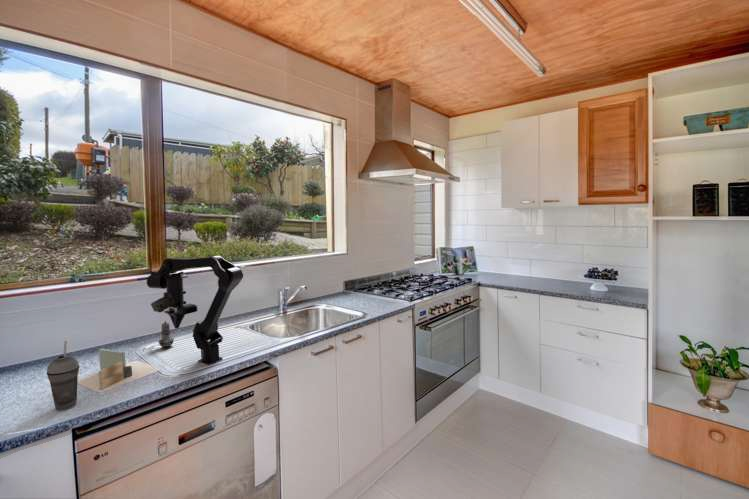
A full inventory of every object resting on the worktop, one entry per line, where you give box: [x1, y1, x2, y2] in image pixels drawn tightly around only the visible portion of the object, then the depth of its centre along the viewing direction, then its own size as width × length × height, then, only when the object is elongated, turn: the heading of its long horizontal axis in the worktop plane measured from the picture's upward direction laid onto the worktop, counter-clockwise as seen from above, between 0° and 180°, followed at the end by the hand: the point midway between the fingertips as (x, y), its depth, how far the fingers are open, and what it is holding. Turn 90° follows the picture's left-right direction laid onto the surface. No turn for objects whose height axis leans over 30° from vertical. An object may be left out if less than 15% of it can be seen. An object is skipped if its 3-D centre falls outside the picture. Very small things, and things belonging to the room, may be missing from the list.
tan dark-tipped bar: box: [98, 362, 132, 389], centre depth 120 cm, size 11×2×6 cm, turn 167°
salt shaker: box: [158, 320, 175, 351], centre depth 152 cm, size 6×6×12 cm
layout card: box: [77, 360, 159, 394], centre depth 126 cm, size 17×20×1 cm
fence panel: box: [98, 348, 126, 375], centre depth 126 cm, size 11×1×8 cm, turn 73°
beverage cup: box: [45, 340, 80, 412], centre depth 104 cm, size 7×7×20 cm
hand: (176, 328), depth 141 cm, fingers closed
